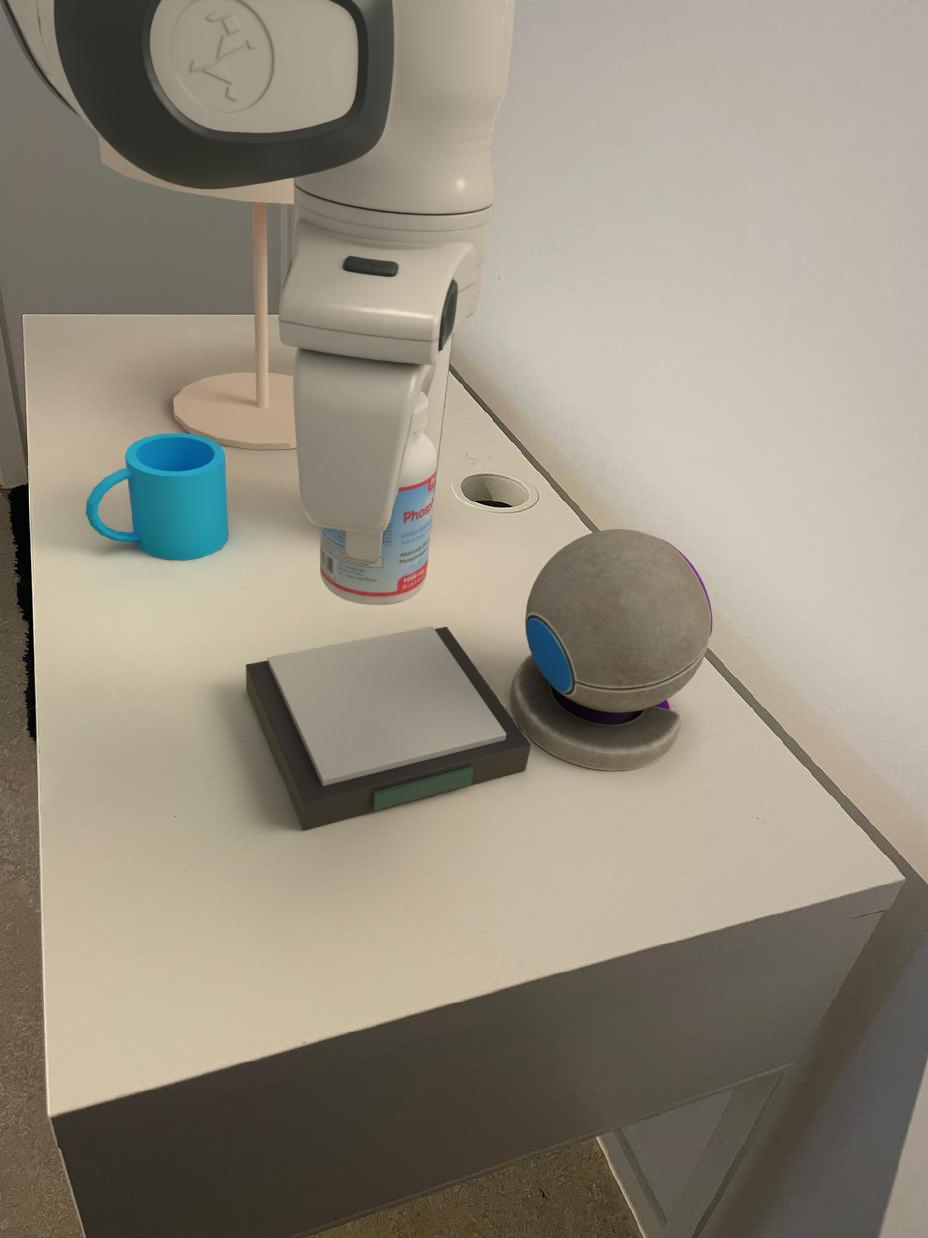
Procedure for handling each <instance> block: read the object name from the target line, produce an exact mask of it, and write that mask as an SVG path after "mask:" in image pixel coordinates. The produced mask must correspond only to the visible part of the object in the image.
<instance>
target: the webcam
mask: <svg viewBox="0 0 928 1238" xmlns="http://www.w3.org/2000/svg"><path fill="white" fill-rule="evenodd" d="M712 611H713V610H712V606H711V600H710V598H709V594H708V590H707V588H706V585H705V583H704V581H703V579H702V577H701V576H700V574H699V572H698V571H697V569H696V568H695V567H694V564H692V561H690V560H689V559H688V557H687V556H685V554H683V553H682V552H681V551H680V550H679V549H677V547H675V546H674V545H672V544H671V543H670V542H668V541H666V540H664V539H662V538H659V537H657V536H654V535H651V534H648V533H645V532H643V531H640V530H633V529H624V528H615V529H614V528H613V529H611V528H610V529H605V530H598V531H594V532H592V533H589V534H585V535H582V536H581V537H579V538H576V539H575V540H573V541H571V542H570V543H568V544H567V545H565V546H563V547H562V548H561V549H559V550H558V551H556V553H554V555H553V556H552V557H551V558H549V560H548V561H547V562H546V563H545V565H544V566H543V567H542V569H541V570H540V571H539V573H538V574H537V577H536V578H535V581H534V582H533V584H532V587H531V590H530V591H529V595H528V598H527V603H526V609H525V618H524V628H525V636H526V641H527V645H528V649H529V651H530V654H529V655H528V656H527V657H526V658H525V659H524V660H523V661H522V662H521V663H520V664H519V666H518V668H517V670H516V671H515V674H514V677H513V680H512V683H511V688H510V693H509V703H510V709H511V712H512V714H513V717H514V719H515V721H516V724H518V727H520V730H521V731H522V732H523V733H524V734H525V735H526V736H527V737H528V738H529V739H530V740H532V741H533V742H534V743H535V744H536V745H537V746H539V747H540V748H542V749H543V750H544V751H546V752H547V753H549V754H551V755H553V756H555V757H557V758H559V759H562V760H564V761H566V762H568V763H570V764H571V763H572V764H573V765H577V766H580V767H585V768H587V769H594V770H602V771H626V770H634V769H637V768H643V767H645V766H648V765H651V764H654V763H655V762H657V761H659V760H660V759H661V758H663V757H664V756H665V755H667V754H668V753H669V751H670V750H671V749H672V748H673V746H674V744H675V743H676V741H677V738H678V735H679V733H680V728H681V725H682V720H683V719H682V714H681V713H680V712H677V711H675V710H671V708H670V704H669V701H668V700H669V699H671V698H672V697H673V696H674V695H675V694H677V693H679V692H680V691H681V690H683V688H684V687H686V685H687V684H688V683H689V682H690V681H691V680H692V679H693V678H694V676H695V674H696V673H697V671H698V670H699V668H700V667H701V664H702V663H703V660H704V659H705V656H706V653H707V650H708V646H709V643H710V638H711V636H712V631H713V612H712Z"/></svg>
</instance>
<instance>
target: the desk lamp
mask: <svg viewBox="0 0 928 1238" xmlns="http://www.w3.org/2000/svg"><path fill="white" fill-rule="evenodd" d="M98 142H99V153H100V160H101V162H100V163H102V164H103V165H105V166H107V167H108V168H110V169H112V170H114V171H115V172H117V173H118V174H120V175H122V176H124V177H126V178H128V179H131V180H136V181H140V182H143V183H146V184H150V185H153V186H158V187H160V188H164V189H168V190H171V191H175V192H181V193H187V194H194V195H199V196H206V197H207V196H208V197H211V198H220V199H225V200H233V201H239V202H249V203H251V202H252V207H251V208H252V250H253V251H252V252H253V254H252V255H253V259H252V260H253V306H254V309H253V310H254V313H253V314H254V358H255V359H254V360H255V361H254V365H255V372H248V371H247V372H239V371H238V372H233V373H232V372H231V373H226V374H218V375H212V376H207V377H205V378H202V379H200V380H197V381H195V382H192V383H189V384H187V385H185V386H184V387H183V388H182V389H181V390H180V391H179V392H178V393H177V394H176V395H175V396H174V397H173V398H172V400H173V403H172V404H173V416H174V417H173V418H174V420H175V421H176V422H177V423H178V424H179V425H180V426H181V427H182V428H184V429H185V430H186V431H187V432H188V434H194V435H199V436H203V437H206V438H208V439H211V440H213V441H215V442H216V443H218V444H219V445H220V446H229V447H234V448H240V449H247V450H252V451H255V450H256V451H263V450H265V451H266V450H293V449H297V448H296V434H295V418H294V398H293V379H294V375H288V374H281V373H275V372H269V329H268V328H269V319H268V317H269V314H268V311H269V309H268V305H269V304H268V228H267V227H268V223H267V222H268V219H267V218H268V215H267V214H268V213H267V208H268V207H267V204H268V203H269V204H283V205H294V179H293V178H289V179H284V180H279V181H273V182H268V183H261V184H255V185H249V186H242V187H235V188H226V189H195V188H189V187H184V186H180V185H176V184H172V183H169V182H166V181H163V180H161V179H158V178H156V177H153V176H151V175H149V174H148V173H146V172H144V171H142V170H140V169H138V168H137V167H135V166H134V165H132V164H131V163H129V162H128V161H127V160H125V159H124V158H122V157H121V156H120V155H119V154H118V153H117V152H115V151H114V150H113V149H112V148H111V147H110V146H109V145H108V144H107V143H105V142H104V141H103V140H102V139H101V138H100V137H99V136H98Z"/></svg>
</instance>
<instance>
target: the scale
mask: <svg viewBox="0 0 928 1238" xmlns="http://www.w3.org/2000/svg"><path fill="white" fill-rule="evenodd" d="M245 685H246V686H245V687H246V689H245V690H246V693H247V696H248V698H249V700H250V703H251V705H252V707H253V710H254V712H255V714H256V717H257V719H258V722H259V725H260V727H261V729H262V732H263V735H264V737H265V739H266V742H267V744H268V746H269V749H270V751H271V754H272V757H273V759H274V761H275V763H276V766H277V769H278V772H279V774H280V776H281V779H282V781H283V783H284V787H285V788H286V791H287V793H288V795H289V798H290V801H291V804H292V806H293V808H294V810H295V813H296V815H297V818H298V820H299V822H300V825H301V828H302V830H303V831H308V830H312V829H315V828H319V827H324V826H326V825H332V824H335V823H338V822H341V821H345V820H349V819H352V818H356V817H361V816H364V815H368V814H371V813H374V812H375V813H376V812H379V811H381V810H382V811H383V810H386V809H390V808H394V807H396V806H400V805H404V804H408V803H411V802H415V801H419V800H422V799H426V798H429V797H434V796H437V795H441V794H445V793H448V792H452V791H455V790H459V789H463V788H467V787H470V786H473V785H477V784H481V783H486V782H489V781H492V780H496V779H499V778H503V777H507V776H511V775H514V774H518V773H521V772H526V770H527V766H528V761H529V756H530V751H531V747H532V744H531V743H530V742H529V740H528V739H527V737H526V736H525V735H524V732H523V731H522V729H521V728H519V725H517V722H515V720H514V719H513V717H512V716H511V715H510V714H509V712H508V710H507V709H506V708H505V706H504V705H503V704H502V701H500V699H499V698H498V697H497V695H496V694H495V693H494V691H493V690H492V688H491V687H490V686H489V684H488V682H487V681H486V680H485V678H484V677H483V676H482V674H481V672H480V671H479V670H478V669H477V667H476V665H475V664H474V663H473V661H472V660H471V659H470V657H469V656H468V654H467V653H466V651H465V650H464V649H463V647H462V646H461V644H460V643H459V641H458V640H457V639H456V638H455V636H454V634H453V633H452V632H451V630H450V629H449V628H448V626H442V627H437V628H434V627H433V626H427V627H422V628H417V629H413V630H412V629H411V630H406V631H401V632H397V633H396V632H395V633H391V634H386V635H380V636H375V637H370V638H363V639H358V640H354V641H347V642H342V643H337V644H332V645H331V644H330V645H327V646H322V647H316V648H311V649H305V650H299V651H295V652H294V651H293V652H289V653H285V654H279V655H273V656H268V657H267V660H263V661H257V662H251V663H246V664H245Z"/></svg>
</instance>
